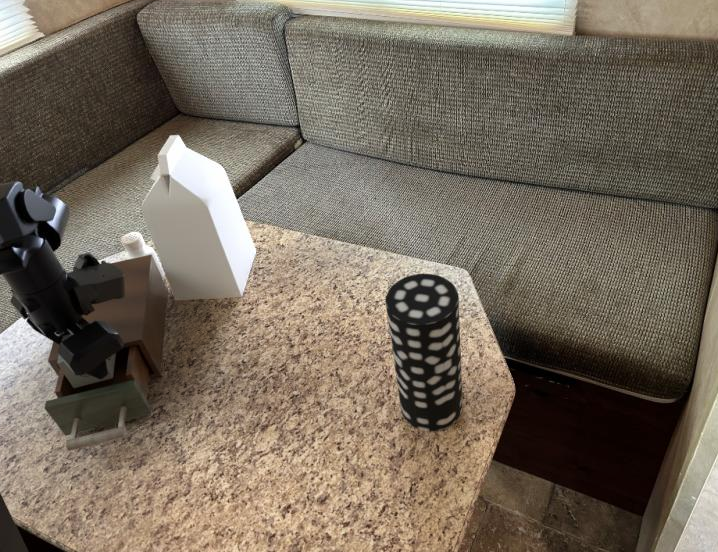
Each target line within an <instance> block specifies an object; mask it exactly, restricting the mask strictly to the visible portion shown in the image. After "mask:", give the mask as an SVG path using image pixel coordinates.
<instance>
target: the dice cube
mask: <svg viewBox="0 0 718 552" xmlns="http://www.w3.org/2000/svg"><path fill="white" fill-rule="evenodd" d="M70 336H72V335H71V334H69V335H65V336H63V338H62V341H64V340H65V339H67V338H68V337H70ZM115 357H116V353H115V354H114V355H112V356H111V357H109V358H108V359H106V364H107V371H108V375H107V376H106V377H104V378H103V379H101V380H100V379H98V378H95V377H93V376H91V375H89V374H86V373H85V374H84V375H78V376H76V375H75V374H74V373H73V372H72V371H71V370H70V368H69V367H68V366H67V365H66V364H65V363H64V362H63V360H62V359H61V357H60V356H58V361H57V364H58V366H59V367H60V369H61V370H62V372H63V373H64V375H65V376H66V377H67V379H68V380H69V382H70V383H71V385H72V386H73V388H77V387H80V386H84V385H88V384H92V383H96V382H100V381H103V380H107V379H111V378H113V373H114V365H115Z"/></svg>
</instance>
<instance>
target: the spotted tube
mask: <svg viewBox="0 0 718 552" xmlns="http://www.w3.org/2000/svg"><path fill="white" fill-rule="evenodd" d="M385 307H386V315H387V322H388V330H389V336H390V337H389V338H390V343H391V350H392V356H393V363H394V370H395V377H396V384H397V385H396V386H397V390H398V398H399V405H400V411H401V415H402V417H403V418H404V420H405V421H406V422H407V423H408V424H409V425H410V426H412V427H413V428H415V429H417V430H421V431H425V432H438V431H443V430H445V429H447V428H449V427H451V426H452V425H454V423H455V422H456V421H457V420H458V419H459V418H460V416H461V414H462V412H463V405H464V404H463V379H462V377H463V376H462V353H461V352H462V351H461V348H462V347H461V323H460V298H459V292H458V290H457V287H456V286H455V285H454V283H452V282H451V281H450V280H449V279H447V278H446V277H443V276H441V275H439V274H433V273H416V274H411V275H408V276H405V277H403V278H400V279H399V280H397V281H396V282H395V283H394V284H392V285H391V286H390V288H388V291H387V293H386V295H385Z"/></svg>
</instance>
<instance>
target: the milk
mask: <svg viewBox="0 0 718 552" xmlns="http://www.w3.org/2000/svg"><path fill="white" fill-rule="evenodd" d="M157 161H158V164H157V166H156V167H155V169H154V170H153V172H152V174H151V175H150V177H149V179H150V180H152V181H154V182H153V184H152V186H151V187H150V189H149V191H148V192H147V194H146V195H145V198H144V199H143V201H142V203H141V215H142V217H143V220H144V223H145V226H146V228H147V231H148V233H149V236H150V238H151V240H152V244H153V246H154V248H155V252H156V255H157V257H158V260H159V262H160V265H161V267H162V269H163V271H164V274H165V277H166V280H167V283H168V285H169V288H170V291H171V293H172V295H173V298H174V300H175V301H190V300H191V301H192V300H208V299H209V300H211V299H214V300H215V299H230V298H231V299H233V298H243V296H244V292H245V289H246V285H247V282H248V279H249V277H250V273H251V270H252V267H253V264H254V261H255V258H256V254H257V249H256V246H255V244H254V241H253V237H252V235H251V233H250V231H249V228H248V225H247V223H246V220H245V218H244V216H243V212H242V210H241V207H240V205H239V202H238V199H237V197H236V195H235V192H234V188H233V187H232V184H231V181H230V178H229V177H228V174H227V172H226V170H225V168H224V167H223V166H222V165H221V164H220V163H218V162H217V161H215V160H213V159H211V158H209V157H207V156H205V155H203V154H201V153H199V152H197V151H195V150H192V149H191V148H189V147H187V145H186V144H185V143H184V141H183V139H182V137H180V134H175V135H174V134H170V135H169V136H168V138H167V139H166V141H165V143H164V144H163V146H162V148H161V149H160V151H159V152H158V154H157Z"/></svg>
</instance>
